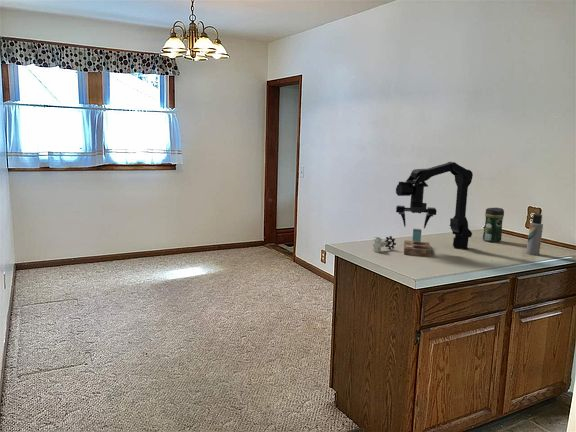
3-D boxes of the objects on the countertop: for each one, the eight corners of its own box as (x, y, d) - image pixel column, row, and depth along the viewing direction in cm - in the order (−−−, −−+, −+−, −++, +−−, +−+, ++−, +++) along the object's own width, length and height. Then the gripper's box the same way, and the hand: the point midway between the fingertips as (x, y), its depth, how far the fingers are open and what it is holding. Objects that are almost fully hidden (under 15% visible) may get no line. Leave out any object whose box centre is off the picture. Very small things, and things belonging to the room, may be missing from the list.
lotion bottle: (538, 253, 238) (543, 213, 235) (540, 255, 233) (545, 215, 230) (525, 251, 240) (530, 212, 237) (527, 254, 235) (532, 214, 231)
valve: (379, 253, 223) (395, 250, 231) (380, 239, 222) (396, 237, 230) (368, 250, 228) (385, 247, 236) (369, 237, 227) (386, 234, 235)
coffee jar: (491, 238, 270) (495, 206, 267) (503, 241, 263) (507, 208, 260) (479, 239, 265) (483, 206, 262) (491, 243, 258) (495, 209, 255)
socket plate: (428, 248, 238) (429, 242, 238) (430, 256, 221) (431, 250, 220) (403, 246, 241) (404, 239, 240) (403, 254, 224) (404, 247, 223)
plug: (419, 244, 247) (421, 229, 245) (420, 246, 243) (421, 230, 242) (411, 243, 248) (413, 228, 246) (411, 245, 244) (413, 229, 242)
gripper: (397, 196, 225) (394, 229, 228) (438, 199, 221) (435, 232, 224) (397, 193, 236) (395, 225, 238) (436, 196, 232) (434, 227, 234)
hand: (414, 227), depth 233 cm, fingers open, 9 cm apart
